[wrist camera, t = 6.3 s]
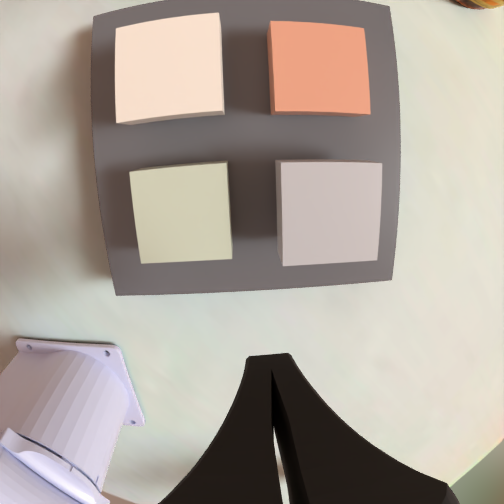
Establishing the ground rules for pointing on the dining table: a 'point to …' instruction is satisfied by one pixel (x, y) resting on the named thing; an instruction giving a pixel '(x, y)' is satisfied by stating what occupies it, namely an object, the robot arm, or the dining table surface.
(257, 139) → the keypad base
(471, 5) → the sauce bottle
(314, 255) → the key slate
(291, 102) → the key terracotta
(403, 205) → the dining table surface
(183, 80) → the key cream
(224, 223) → the key sage
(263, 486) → the robot arm
